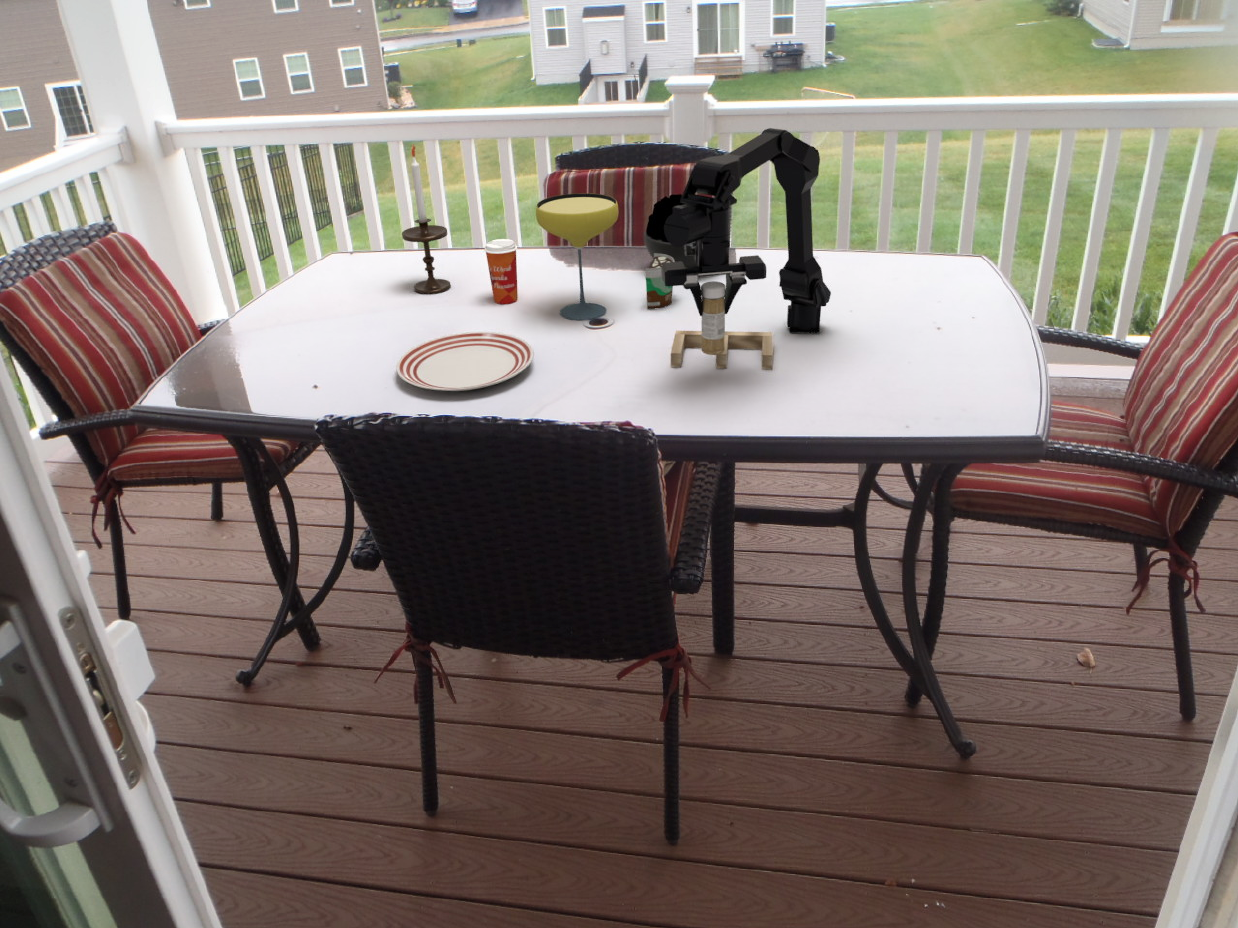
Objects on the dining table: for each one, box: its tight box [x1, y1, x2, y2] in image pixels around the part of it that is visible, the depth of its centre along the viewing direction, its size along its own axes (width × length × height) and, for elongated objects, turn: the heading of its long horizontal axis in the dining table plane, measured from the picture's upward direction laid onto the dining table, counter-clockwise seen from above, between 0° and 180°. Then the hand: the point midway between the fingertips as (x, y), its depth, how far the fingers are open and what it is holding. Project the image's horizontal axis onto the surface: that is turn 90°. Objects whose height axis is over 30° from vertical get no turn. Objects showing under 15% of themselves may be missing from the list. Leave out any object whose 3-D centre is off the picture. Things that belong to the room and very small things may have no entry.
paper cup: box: [483, 238, 519, 305], centre depth 219 cm, size 8×8×14 cm
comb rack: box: [670, 330, 774, 370], centre depth 188 cm, size 20×12×3 cm, turn 82°
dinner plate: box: [396, 331, 535, 392], centre depth 186 cm, size 27×27×3 cm
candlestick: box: [401, 143, 452, 295], centre depth 224 cm, size 11×11×35 cm
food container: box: [644, 253, 675, 310], centre depth 215 cm, size 12×6×10 cm, turn 168°
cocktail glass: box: [535, 192, 619, 321], centre depth 208 cm, size 18×18×25 cm
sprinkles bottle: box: [700, 280, 726, 356], centre depth 175 cm, size 5×5×14 cm
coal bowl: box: [643, 193, 698, 267], centre depth 232 cm, size 20×20×19 cm
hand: (713, 314), depth 175 cm, fingers closed on sprinkles bottle, 4 cm apart
